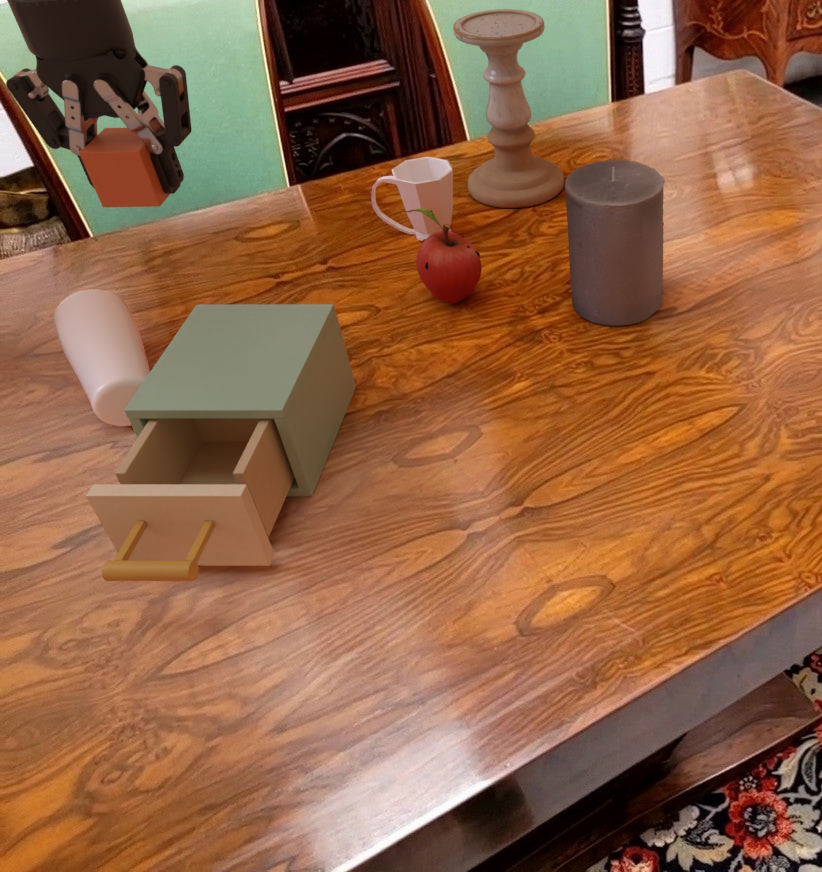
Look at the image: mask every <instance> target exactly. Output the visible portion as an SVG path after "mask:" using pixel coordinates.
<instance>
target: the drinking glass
mask: <svg viewBox="0 0 822 872" xmlns="http://www.w3.org/2000/svg"><path fill="white" fill-rule="evenodd" d="M53 324H54V327H55V332H56V336H57V339H58V342H59V345H60V347H61V350H62V352H63V354H64V356H65V358H66V360H67V362H68V364H69V365H70V367H71V369H72V371H73V373H74V374H75V376H76V378H77V380H78V382H79V384H80V386H81V387H82V389H83V391H84V393H85V395H86V398H87V399H88V401H89V404H90V407H91V409H92V411H93V413H94V415H95V416H96V417H97V418H98V419H99V420H100V421H102V422H103V423H104V424H105V423H106V424H107V425H109V426H110V425H111V426H113V427H114V426H115V427H132V425H131V423H130V421H129V419H128V417H127V415H126V413H125V411H124V409H125V408H126V406H127V405H128V404H129V402H130V401H131V399H132V398H133V396H134V395H135V393H136V392H137V390H138V389H139V388H140V386H141V385H142V383H143V382H144V380H145V379H146V377H147V376H148V374H149V373H150V371H151V369H150V364H149V361H148V357H147V354H146V349H145V346H144V342H143V338H142V335H141V331H140V328H139V326H138V323H137V321H136V319H135V316H134V314H133V313H132V311H131V310H130V308H129V306H128V304H127V303H126V302H125V301H124V300H123V298H121V297H120V296H119V295H117V294H115V293H113V292H112V291H108V290H105V289H100V288H89V289H82V290H78V291H75V292H73V293H70V294H69V295H67V296H66V297H65V298H63V300H62V301H60V303H59V304H58V305H57V307H56V308H55V312H54V315H53Z"/></svg>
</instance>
